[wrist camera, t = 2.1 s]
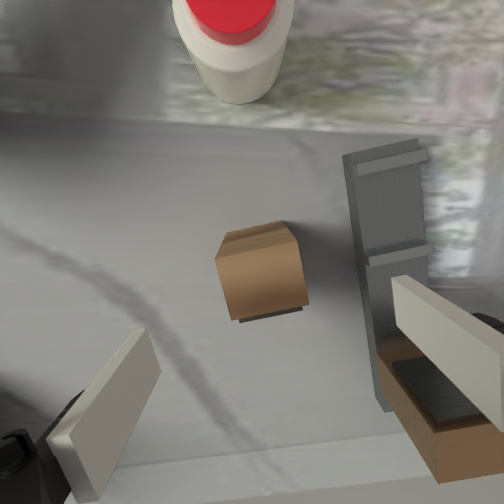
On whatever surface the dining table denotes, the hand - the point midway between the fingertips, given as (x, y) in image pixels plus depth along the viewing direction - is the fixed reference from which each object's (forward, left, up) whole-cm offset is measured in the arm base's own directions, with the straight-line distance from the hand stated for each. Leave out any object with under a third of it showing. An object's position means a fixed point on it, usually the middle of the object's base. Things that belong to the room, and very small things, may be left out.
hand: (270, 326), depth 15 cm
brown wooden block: (0, 0, -16) cm, 16 cm away
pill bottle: (-18, +2, -16) cm, 25 cm away
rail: (+7, +13, -16) cm, 22 cm away
